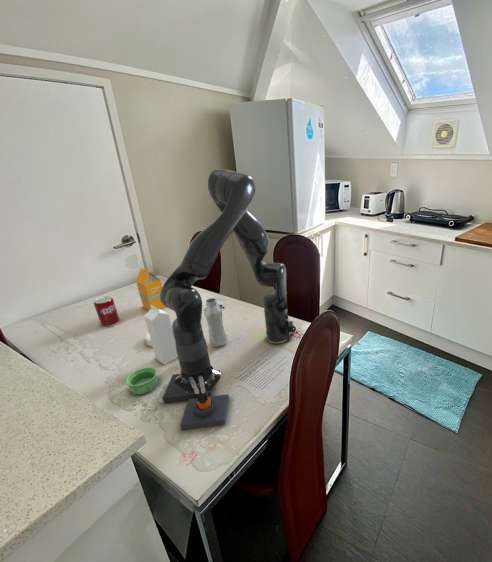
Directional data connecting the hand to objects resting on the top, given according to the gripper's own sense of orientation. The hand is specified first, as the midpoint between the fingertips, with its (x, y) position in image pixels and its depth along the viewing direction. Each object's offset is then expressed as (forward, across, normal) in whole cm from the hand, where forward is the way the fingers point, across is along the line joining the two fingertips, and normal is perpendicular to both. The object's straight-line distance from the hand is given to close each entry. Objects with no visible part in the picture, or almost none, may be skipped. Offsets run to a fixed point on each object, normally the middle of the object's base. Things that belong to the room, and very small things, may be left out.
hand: (203, 400), depth 91 cm
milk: (+6, -20, +31) cm, 37 cm away
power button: (+2, 0, 0) cm, 2 cm away
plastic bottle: (+6, -2, +37) cm, 37 cm away
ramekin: (+6, -23, +16) cm, 29 cm away
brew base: (+5, -7, +12) cm, 15 cm away
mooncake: (+6, -26, +45) cm, 52 cm away
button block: (+5, 0, 0) cm, 5 cm away
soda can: (+6, -54, +63) cm, 83 cm away
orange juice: (+6, -39, +76) cm, 86 cm away
